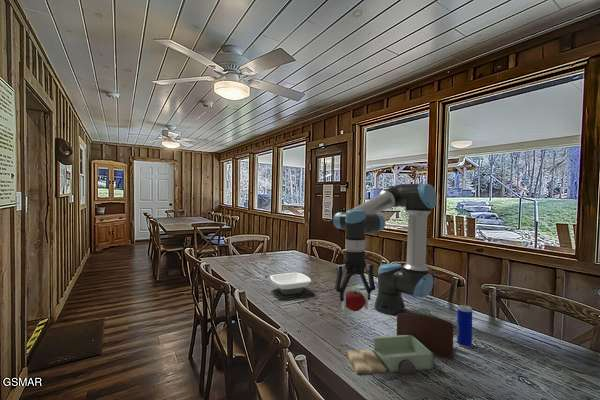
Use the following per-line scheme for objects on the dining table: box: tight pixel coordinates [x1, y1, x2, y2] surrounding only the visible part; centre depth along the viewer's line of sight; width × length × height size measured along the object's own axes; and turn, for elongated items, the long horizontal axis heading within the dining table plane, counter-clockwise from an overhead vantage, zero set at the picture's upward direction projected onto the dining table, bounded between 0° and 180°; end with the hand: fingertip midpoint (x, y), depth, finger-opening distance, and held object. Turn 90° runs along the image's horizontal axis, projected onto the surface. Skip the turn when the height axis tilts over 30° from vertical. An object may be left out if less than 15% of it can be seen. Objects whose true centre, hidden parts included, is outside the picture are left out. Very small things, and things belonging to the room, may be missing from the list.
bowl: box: [269, 272, 312, 296], centre depth 182 cm, size 22×23×8 cm
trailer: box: [373, 335, 434, 376], centre depth 106 cm, size 18×15×6 cm
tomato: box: [345, 290, 365, 312], centre depth 115 cm, size 8×8×7 cm
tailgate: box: [345, 349, 390, 374], centre depth 104 cm, size 13×1×11 cm
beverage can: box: [456, 304, 473, 348], centre depth 118 cm, size 5×5×15 cm
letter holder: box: [396, 312, 454, 360], centre depth 117 cm, size 10×20×14 cm, turn 62°
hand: (354, 308), depth 116 cm, fingers closed on tomato, 8 cm apart
